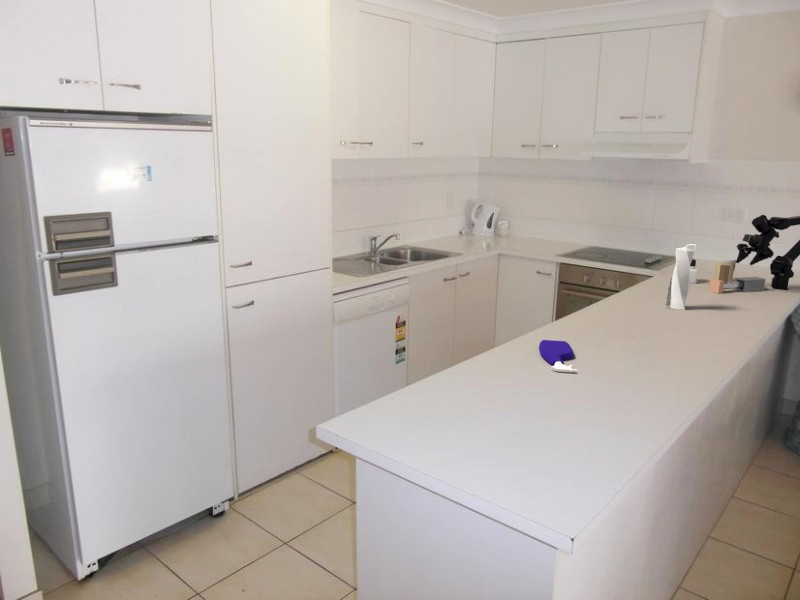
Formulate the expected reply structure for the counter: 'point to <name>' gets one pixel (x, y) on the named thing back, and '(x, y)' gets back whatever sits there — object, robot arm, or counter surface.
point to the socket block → (716, 286)
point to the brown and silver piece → (724, 277)
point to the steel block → (752, 284)
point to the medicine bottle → (693, 272)
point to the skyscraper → (680, 279)
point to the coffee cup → (725, 261)
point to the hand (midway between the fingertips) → (743, 263)
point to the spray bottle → (557, 354)
